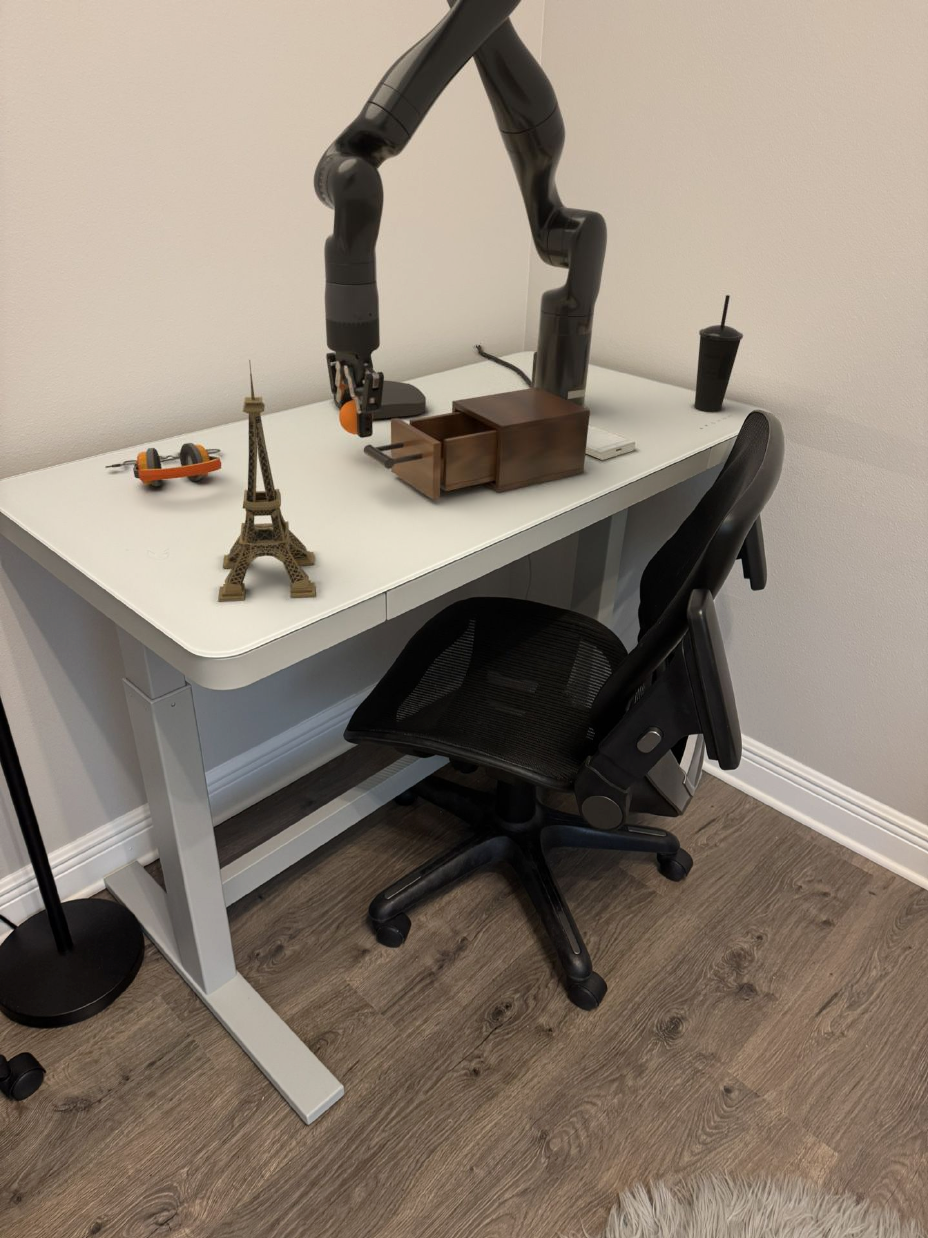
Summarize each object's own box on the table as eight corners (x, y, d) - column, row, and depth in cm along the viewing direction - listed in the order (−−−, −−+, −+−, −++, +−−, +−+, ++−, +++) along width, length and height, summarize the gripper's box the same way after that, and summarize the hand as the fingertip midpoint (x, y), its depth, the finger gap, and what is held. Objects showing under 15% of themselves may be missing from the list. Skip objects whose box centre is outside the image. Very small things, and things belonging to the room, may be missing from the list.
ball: (334, 431, 135) (332, 398, 132) (363, 425, 137) (362, 393, 134) (349, 441, 131) (347, 408, 129) (379, 435, 134) (378, 402, 131)
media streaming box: (432, 415, 156) (432, 398, 155) (351, 423, 151) (351, 405, 150) (404, 391, 168) (404, 375, 166) (328, 398, 163) (327, 381, 161)
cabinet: (498, 492, 128) (502, 426, 123) (450, 463, 137) (452, 400, 132) (583, 473, 135) (590, 409, 130) (532, 447, 144) (537, 387, 139)
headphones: (213, 430, 138) (245, 442, 121) (219, 465, 139) (251, 481, 122) (98, 445, 131) (115, 460, 114) (105, 481, 132) (123, 501, 115)
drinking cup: (734, 406, 167) (756, 295, 157) (721, 416, 161) (742, 301, 151) (695, 399, 170) (713, 289, 160) (680, 408, 165) (699, 295, 155)
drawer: (395, 507, 119) (395, 451, 115) (355, 478, 128) (353, 425, 124) (518, 480, 129) (522, 427, 125) (473, 454, 138) (475, 404, 134)
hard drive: (545, 429, 147) (602, 450, 139) (579, 420, 152) (636, 440, 144) (544, 439, 148) (601, 460, 140) (578, 429, 153) (634, 450, 145)
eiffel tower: (313, 554, 109) (301, 346, 96) (315, 596, 100) (302, 373, 87) (224, 557, 107) (200, 346, 94) (218, 601, 98) (190, 374, 85)
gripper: (401, 321, 122) (401, 441, 131) (352, 301, 132) (356, 413, 141) (351, 327, 118) (356, 450, 127) (306, 306, 128) (313, 420, 137)
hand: (356, 430), depth 134 cm, fingers closed on ball, 5 cm apart
